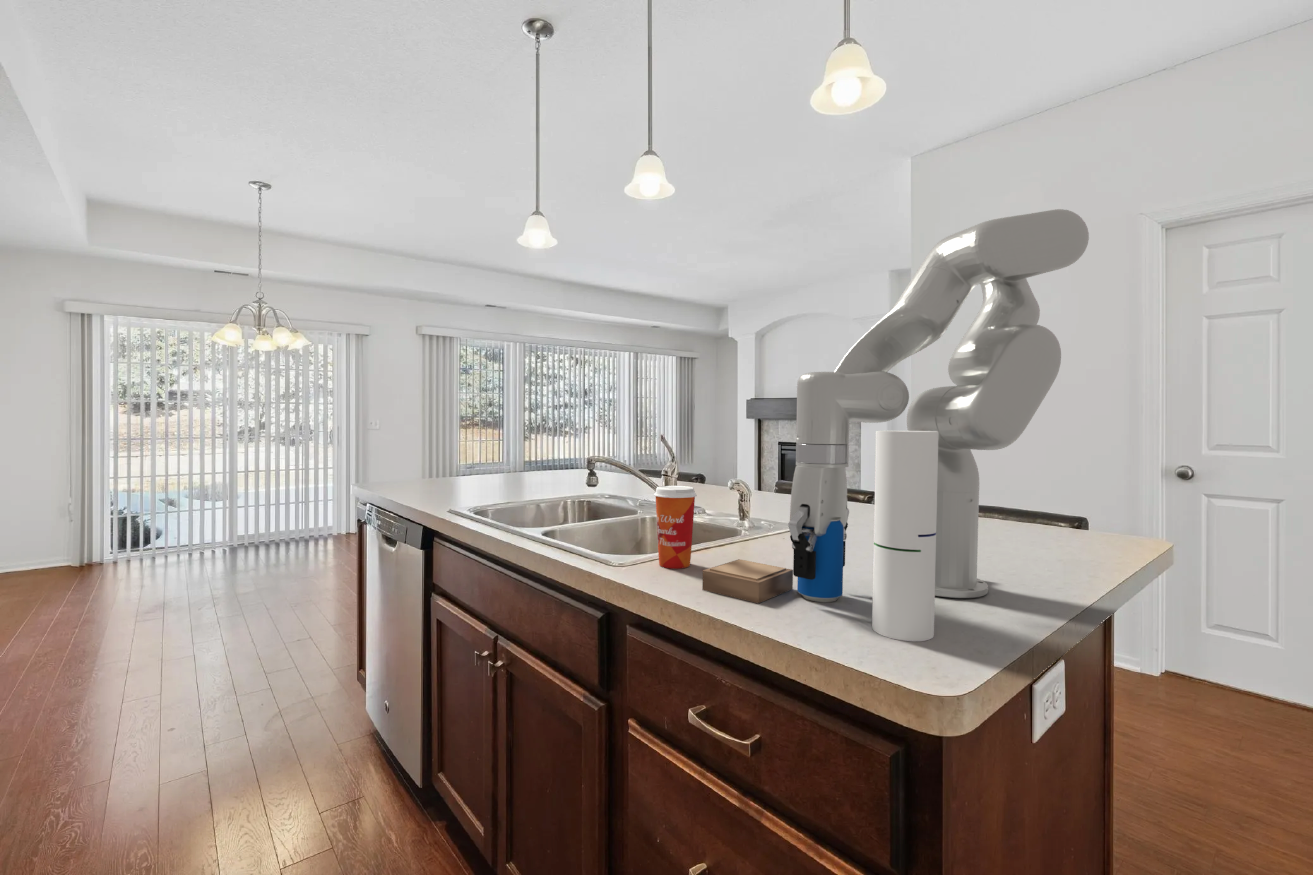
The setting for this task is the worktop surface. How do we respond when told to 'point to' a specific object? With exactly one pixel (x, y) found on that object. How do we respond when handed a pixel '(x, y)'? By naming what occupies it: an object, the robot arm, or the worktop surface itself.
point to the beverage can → (826, 566)
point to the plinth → (748, 580)
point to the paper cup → (675, 525)
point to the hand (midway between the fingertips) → (819, 571)
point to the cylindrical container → (905, 534)
